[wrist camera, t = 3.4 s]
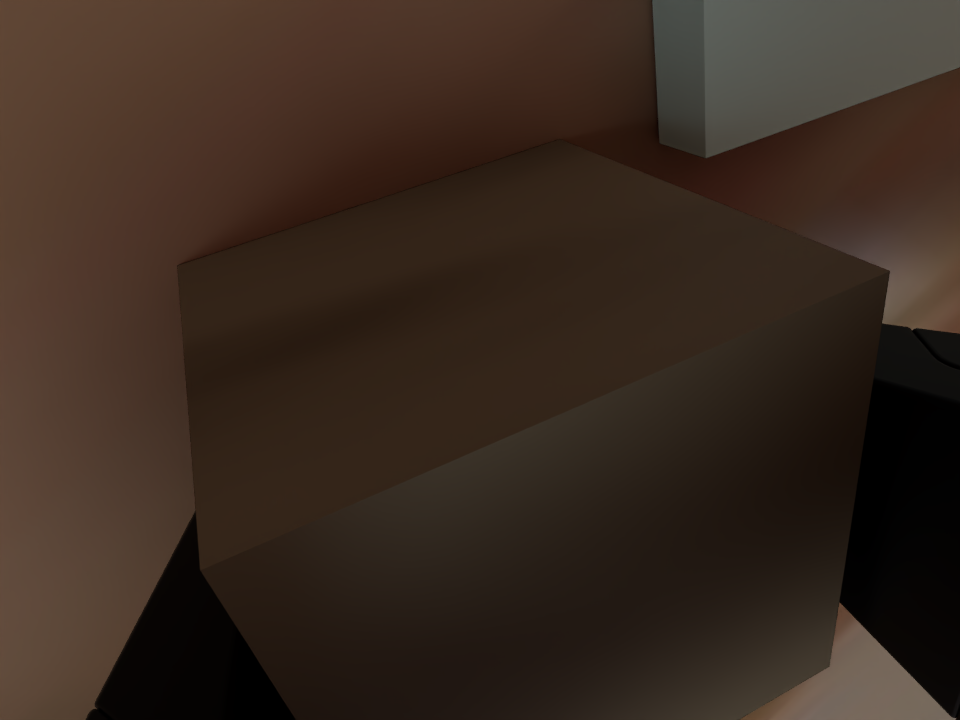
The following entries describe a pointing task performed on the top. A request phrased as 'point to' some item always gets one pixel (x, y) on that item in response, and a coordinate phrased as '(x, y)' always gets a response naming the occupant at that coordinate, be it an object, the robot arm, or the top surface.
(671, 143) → the board
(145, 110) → the top surface
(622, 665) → the walnut cube
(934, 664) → the robot arm
